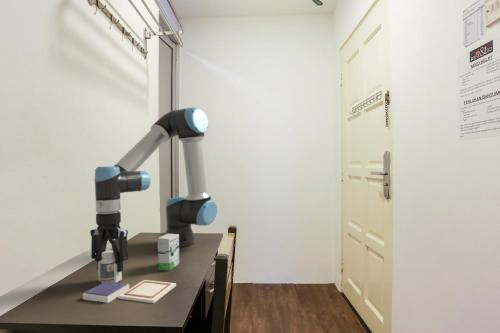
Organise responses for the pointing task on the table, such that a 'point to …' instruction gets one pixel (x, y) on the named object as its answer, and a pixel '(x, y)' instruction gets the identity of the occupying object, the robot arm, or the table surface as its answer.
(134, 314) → the table surface
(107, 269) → the pill bottle
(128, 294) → the print card
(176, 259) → the ink box
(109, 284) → the ink pad
